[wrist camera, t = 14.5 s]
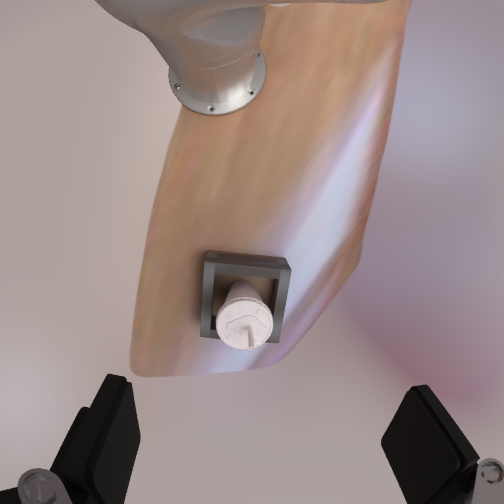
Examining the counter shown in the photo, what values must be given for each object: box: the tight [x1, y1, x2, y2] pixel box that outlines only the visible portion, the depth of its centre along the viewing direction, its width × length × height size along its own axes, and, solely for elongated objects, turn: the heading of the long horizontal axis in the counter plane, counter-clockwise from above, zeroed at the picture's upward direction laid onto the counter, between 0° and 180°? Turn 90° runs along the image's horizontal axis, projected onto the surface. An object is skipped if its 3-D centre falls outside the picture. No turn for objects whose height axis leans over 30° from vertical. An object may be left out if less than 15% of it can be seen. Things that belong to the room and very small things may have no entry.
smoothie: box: [216, 280, 273, 351], centre depth 36 cm, size 6×6×14 cm
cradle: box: [200, 250, 291, 343], centre depth 41 cm, size 11×11×5 cm
